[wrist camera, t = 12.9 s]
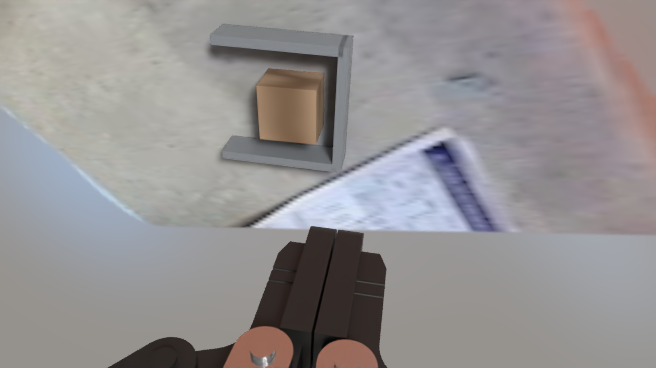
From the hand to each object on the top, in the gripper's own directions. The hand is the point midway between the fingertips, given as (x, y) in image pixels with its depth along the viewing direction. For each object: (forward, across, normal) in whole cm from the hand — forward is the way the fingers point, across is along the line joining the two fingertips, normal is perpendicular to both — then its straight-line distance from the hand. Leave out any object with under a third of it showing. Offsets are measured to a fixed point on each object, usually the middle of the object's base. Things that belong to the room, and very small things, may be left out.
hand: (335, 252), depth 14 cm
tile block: (+29, +8, +9) cm, 31 cm away
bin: (+29, +9, +9) cm, 32 cm away
